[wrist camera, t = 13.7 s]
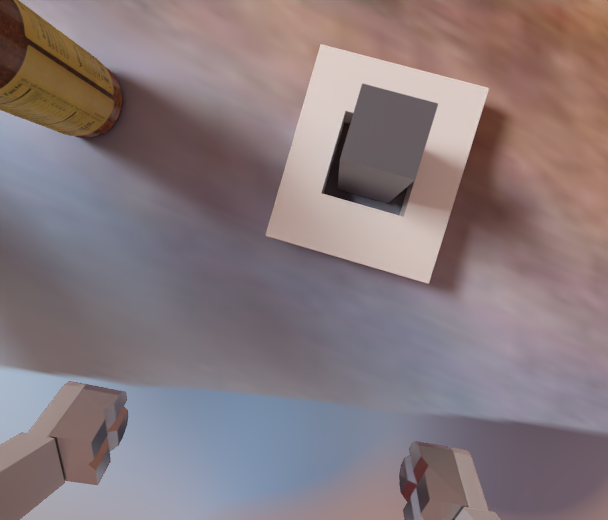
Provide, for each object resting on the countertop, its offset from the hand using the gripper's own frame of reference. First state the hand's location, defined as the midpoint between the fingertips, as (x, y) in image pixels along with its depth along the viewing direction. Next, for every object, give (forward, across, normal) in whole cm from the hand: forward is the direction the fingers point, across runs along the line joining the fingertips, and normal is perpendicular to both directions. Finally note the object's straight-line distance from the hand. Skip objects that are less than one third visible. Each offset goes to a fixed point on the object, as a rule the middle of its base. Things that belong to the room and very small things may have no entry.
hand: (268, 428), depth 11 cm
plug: (+23, -4, -1) cm, 23 cm away
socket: (+23, -4, -1) cm, 23 cm away
